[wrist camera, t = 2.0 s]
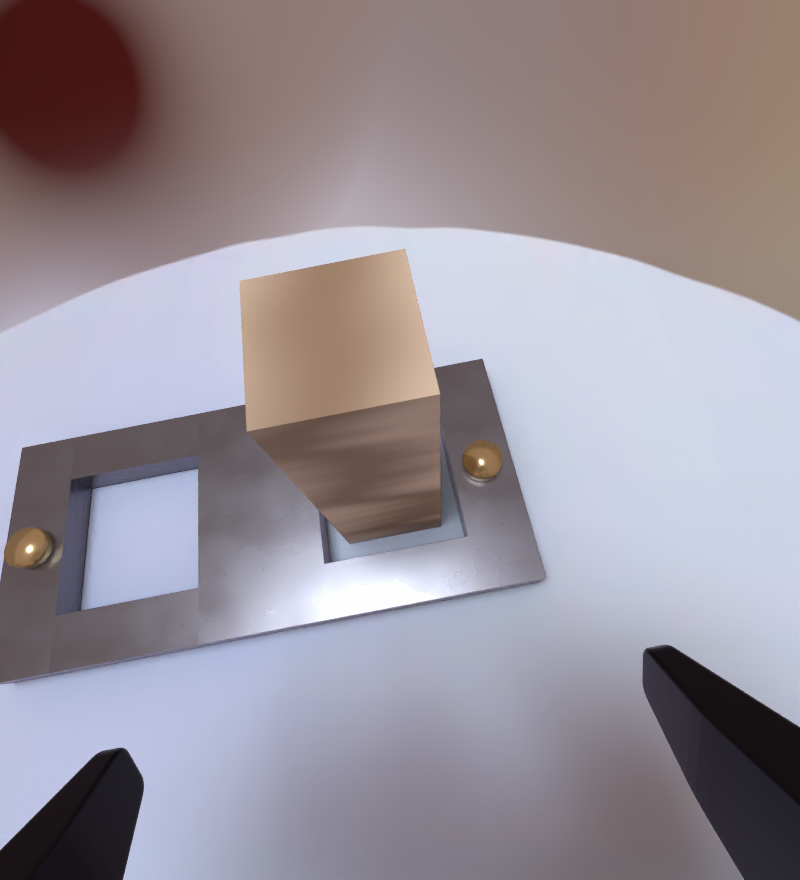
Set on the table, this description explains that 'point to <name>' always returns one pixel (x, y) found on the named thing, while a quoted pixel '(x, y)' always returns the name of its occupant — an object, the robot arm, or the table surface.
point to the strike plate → (244, 540)
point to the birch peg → (346, 392)
